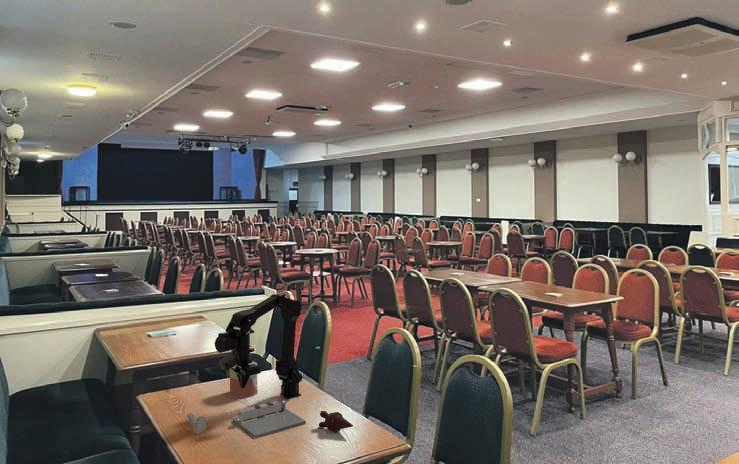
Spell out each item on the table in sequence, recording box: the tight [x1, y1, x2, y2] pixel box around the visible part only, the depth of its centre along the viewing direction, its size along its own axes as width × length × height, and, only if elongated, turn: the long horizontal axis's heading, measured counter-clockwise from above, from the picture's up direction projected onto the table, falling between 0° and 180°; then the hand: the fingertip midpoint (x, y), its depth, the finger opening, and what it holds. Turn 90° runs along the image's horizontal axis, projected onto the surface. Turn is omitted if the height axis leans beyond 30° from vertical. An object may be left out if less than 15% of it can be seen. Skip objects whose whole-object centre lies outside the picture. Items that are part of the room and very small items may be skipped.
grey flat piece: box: [186, 412, 207, 435], centre depth 192 cm, size 7×2×8 cm, turn 151°
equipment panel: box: [231, 408, 307, 439], centre depth 201 cm, size 20×18×1 cm
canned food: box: [229, 360, 258, 399], centre depth 230 cm, size 11×11×12 cm
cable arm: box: [237, 399, 287, 421], centre depth 205 cm, size 18×3×3 cm, turn 128°
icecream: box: [318, 410, 354, 434], centre depth 194 cm, size 7×7×15 cm
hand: (242, 387), depth 208 cm, fingers closed
